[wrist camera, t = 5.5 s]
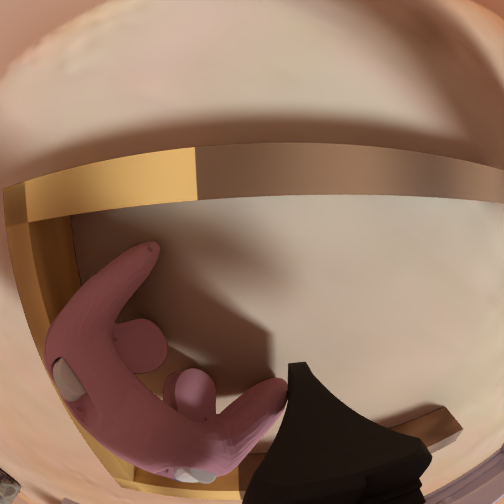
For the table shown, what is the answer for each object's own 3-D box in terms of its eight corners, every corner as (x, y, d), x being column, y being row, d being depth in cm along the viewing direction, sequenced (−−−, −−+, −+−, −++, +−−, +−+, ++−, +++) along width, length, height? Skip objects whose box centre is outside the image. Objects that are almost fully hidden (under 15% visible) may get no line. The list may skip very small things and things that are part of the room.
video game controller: (110, 269, 12) (11, 361, 6) (154, 221, 10) (6, 342, 4) (235, 395, 14) (187, 496, 9) (301, 383, 12) (258, 517, 6)
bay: (494, 175, 10) (529, 178, 8) (438, 418, 15) (455, 440, 12) (45, 185, 10) (3, 188, 7) (130, 457, 14) (121, 487, 11)
